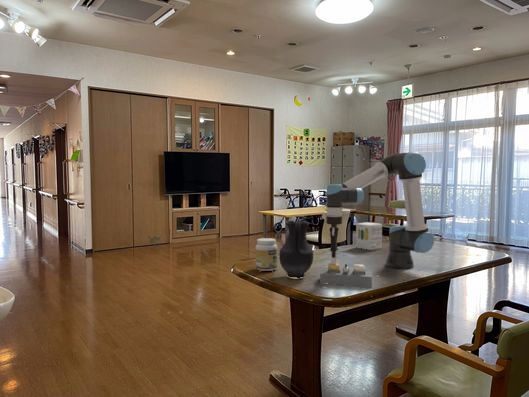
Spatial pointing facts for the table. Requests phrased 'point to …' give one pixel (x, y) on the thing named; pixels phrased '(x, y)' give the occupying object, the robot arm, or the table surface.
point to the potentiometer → (345, 269)
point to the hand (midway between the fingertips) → (333, 263)
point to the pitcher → (296, 250)
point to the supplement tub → (266, 254)
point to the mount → (346, 278)
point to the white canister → (369, 235)
